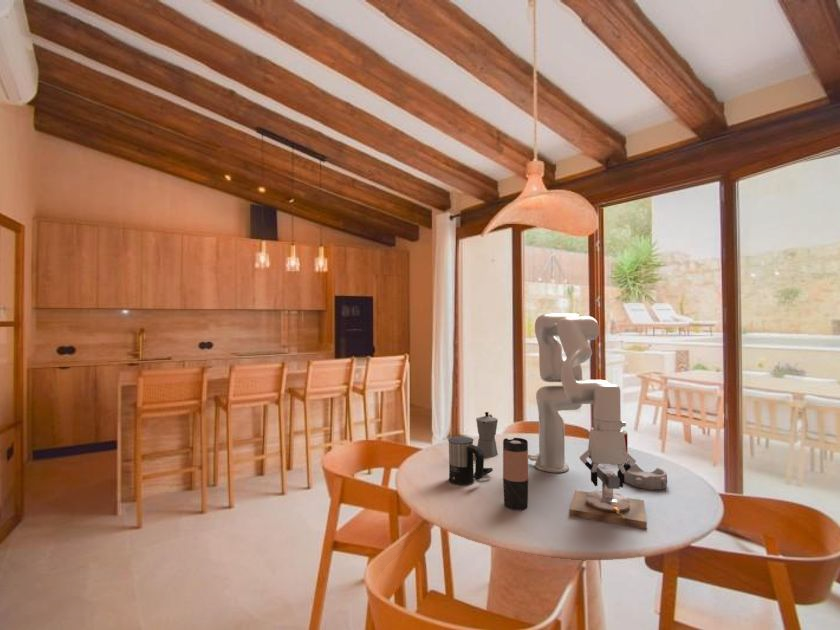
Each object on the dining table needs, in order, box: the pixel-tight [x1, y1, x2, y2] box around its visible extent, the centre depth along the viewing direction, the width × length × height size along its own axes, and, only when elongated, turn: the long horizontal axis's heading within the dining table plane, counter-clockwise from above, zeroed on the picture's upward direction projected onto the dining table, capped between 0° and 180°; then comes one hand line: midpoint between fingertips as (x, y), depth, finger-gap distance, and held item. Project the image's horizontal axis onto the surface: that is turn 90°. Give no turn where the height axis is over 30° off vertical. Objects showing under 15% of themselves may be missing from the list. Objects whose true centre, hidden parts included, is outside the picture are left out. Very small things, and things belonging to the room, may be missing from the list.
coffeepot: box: [475, 411, 498, 458], centre depth 192 cm, size 15×9×18 cm, turn 159°
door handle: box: [586, 465, 630, 513], centre depth 132 cm, size 14×12×10 cm
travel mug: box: [502, 437, 529, 511], centre depth 137 cm, size 8×8×20 cm
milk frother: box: [447, 436, 494, 486], centre depth 161 cm, size 14×16×15 cm
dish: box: [624, 463, 668, 490], centre depth 156 cm, size 14×14×5 cm
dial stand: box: [569, 489, 648, 530], centre depth 133 cm, size 20×16×2 cm
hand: (607, 484), depth 133 cm, fingers open, 6 cm apart
